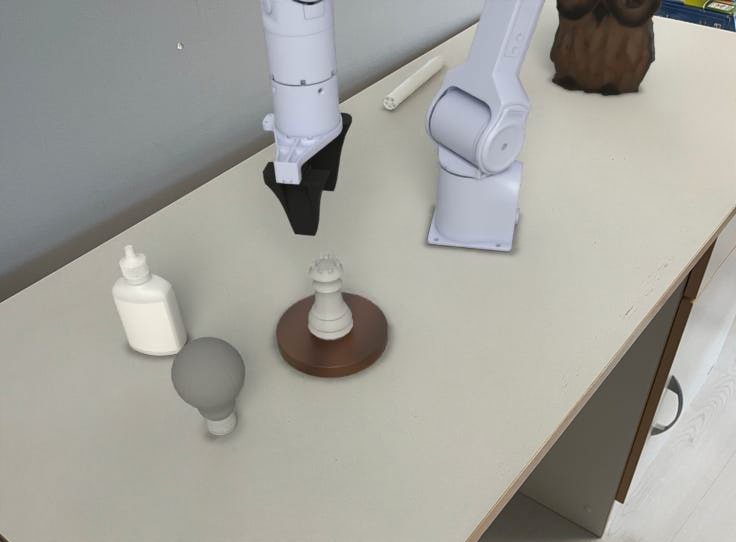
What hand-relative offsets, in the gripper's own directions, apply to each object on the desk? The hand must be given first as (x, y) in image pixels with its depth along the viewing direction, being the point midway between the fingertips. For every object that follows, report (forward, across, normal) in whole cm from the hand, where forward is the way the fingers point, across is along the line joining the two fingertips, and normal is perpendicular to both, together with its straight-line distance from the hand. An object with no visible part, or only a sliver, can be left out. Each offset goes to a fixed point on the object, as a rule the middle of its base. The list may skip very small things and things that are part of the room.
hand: (315, 210), depth 69 cm
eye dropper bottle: (+10, +11, -14) cm, 21 cm away
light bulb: (+10, +20, -4) cm, 23 cm away
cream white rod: (+11, -51, +3) cm, 52 cm away
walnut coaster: (+10, +7, +3) cm, 13 cm away
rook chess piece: (+9, +7, +3) cm, 12 cm away
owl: (+11, -57, +30) cm, 65 cm away
